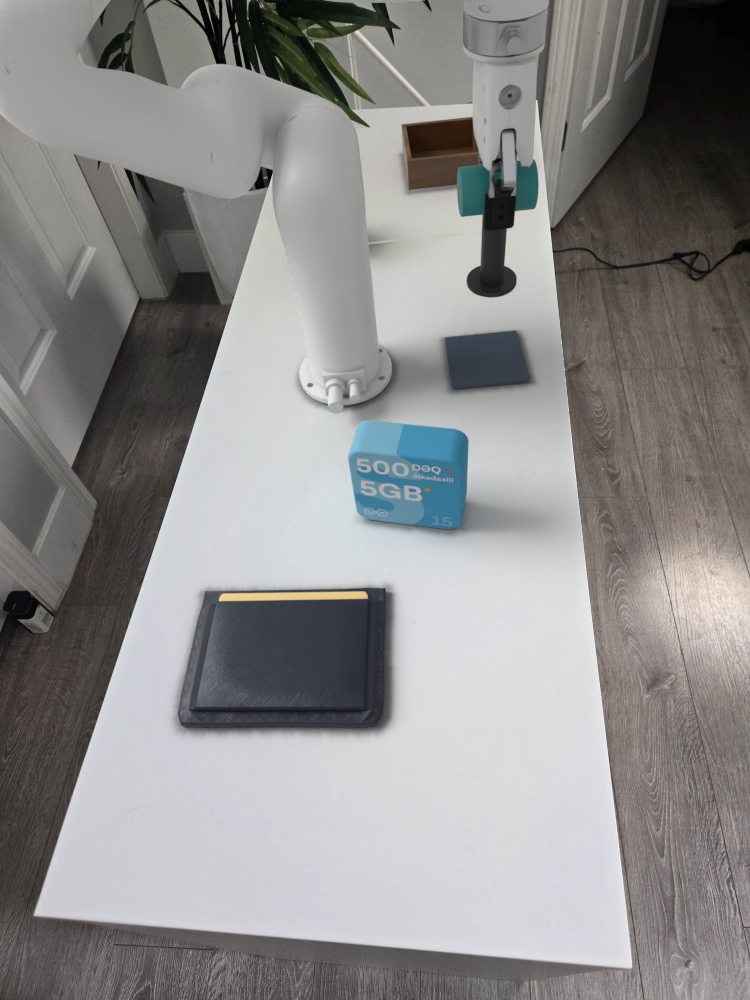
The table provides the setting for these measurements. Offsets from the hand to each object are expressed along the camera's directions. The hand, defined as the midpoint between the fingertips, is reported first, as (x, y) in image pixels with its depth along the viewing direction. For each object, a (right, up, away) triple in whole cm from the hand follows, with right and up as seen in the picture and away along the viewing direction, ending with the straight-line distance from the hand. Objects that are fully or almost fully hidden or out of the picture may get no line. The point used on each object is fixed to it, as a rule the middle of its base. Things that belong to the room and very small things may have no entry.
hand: (494, 212), depth 79 cm
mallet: (+1, -6, +7) cm, 9 cm away
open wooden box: (-1, +28, +49) cm, 56 cm away
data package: (-9, -33, +3) cm, 35 cm away
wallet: (-22, -48, -7) cm, 53 cm away
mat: (+2, -13, +17) cm, 22 cm away
